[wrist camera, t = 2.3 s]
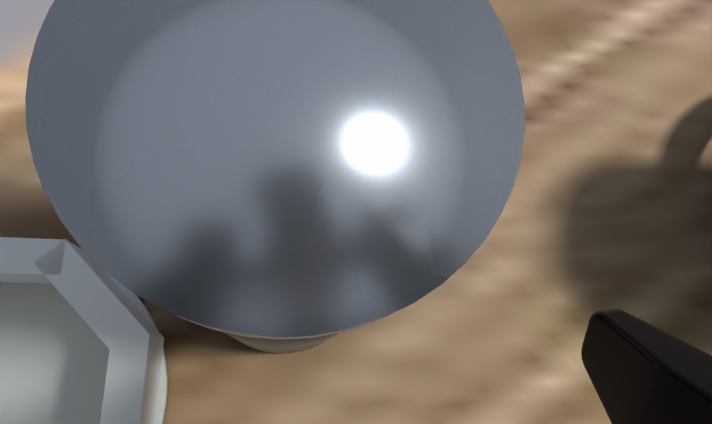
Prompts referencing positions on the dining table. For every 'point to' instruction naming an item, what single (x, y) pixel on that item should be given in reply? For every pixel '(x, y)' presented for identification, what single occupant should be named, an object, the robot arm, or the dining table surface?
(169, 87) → the canister
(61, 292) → the collar
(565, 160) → the dining table surface
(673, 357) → the robot arm
